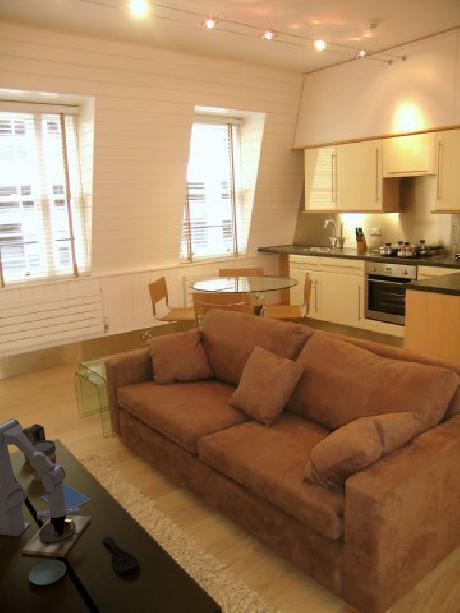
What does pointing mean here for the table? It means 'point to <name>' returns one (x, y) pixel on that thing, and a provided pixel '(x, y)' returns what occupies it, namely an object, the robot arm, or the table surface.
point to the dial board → (57, 548)
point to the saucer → (47, 572)
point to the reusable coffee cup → (47, 449)
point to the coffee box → (34, 435)
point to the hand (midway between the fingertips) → (61, 533)
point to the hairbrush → (121, 557)
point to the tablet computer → (71, 497)
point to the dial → (51, 534)
